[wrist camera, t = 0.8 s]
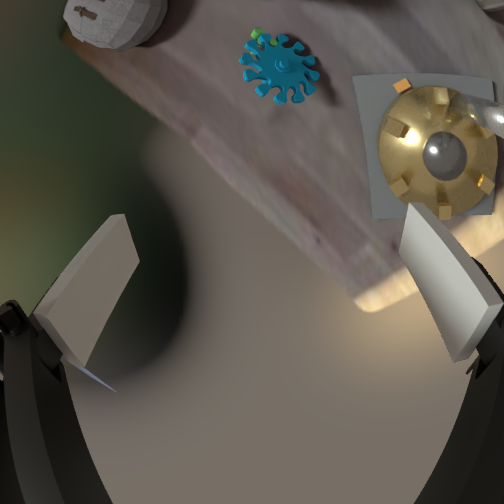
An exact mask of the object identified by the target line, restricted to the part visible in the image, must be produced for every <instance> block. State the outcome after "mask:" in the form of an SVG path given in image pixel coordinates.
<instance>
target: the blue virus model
mask: <svg viewBox="0 0 504 504" xmlns="http://www.w3.org/2000/svg"><path fill="white" fill-rule="evenodd" d="M262 33H263V30H262V29H261V28H258V27H257V28H255V29H254V31H253V32H252V34H251V37H252V38H254V39H255V40H250V41H249V42H247V43H246V45H245V48H246V49H247V50H249V51H251V52H250V53H251V54H253V55H255V56H256V58H257V60H258V61H255V60H253V59H252V57H251V55H250V54H249V53H246V52H245V53H244V54H243V55H242V56H241V58H240V60H239V63H241V64H243V65H250V66H253V67H254V68H256V69H257V70H259V72H260V73H256V72H254V71H253V70H251V69H247V70H245V72H244V73H243V76H244V80H245V81H246V82H250V81H252V80H254V79H262V83H263V84H260V85H259V86H258V87H257V88H256V89H255V90H256V92H257V94H258V95H259V96H260V97H263V96H265V95H266V94H267V93H268V92H269V90H270V89H271V88H274V87H278V88H280V90H281V93H278V94H277V95H276V96H274V98H273V101H275V102H276V103H278V104H281V105H282V104H284V103H285V102H286V101H287V90H288V89H289V88H291V89H293V91H294V95H293V96H292V98H291V100H292V102H293V103H301V102H303V101H304V100H305V98H304V96H303V94H302V93H301V91H300V83H301V84H303V86H304V93H305V94H306V95H310V94H312V93H314V92H315V91H316V87H315V86H314V85H312V84H311V83H309V82H308V80H307V79H306V77H305V75H304V73H305V74H306V75H307V76H308V78H309V79H310V81H312V82H315V81H317V80H318V79H319V75H320V74H319V72H317V71H313V70H310V69H308V68H307V67H305V66H304V65H303V64H302V62H303V63H305V64H306V65H307V66H312V65H314V64H315V59H314V57H313V56H311V55H309V56H307V57H302V56H298V55H296V54H295V53H294V52H297V53H300V52H301V51H303V50H304V49H305V48H304V46H303V45H302V44H301V43H300V42H296V43H295V44H294V45H293V47H291V48H284V47H283V46H282V44H285V43H286V42H287V41H288V39H289V38H288V37H287V36H285V35H283V34H279V36H278V37H277V38H276V40H275V39H271V35H270V34H262ZM264 84H265V85H264ZM267 84H268V85H267Z"/></svg>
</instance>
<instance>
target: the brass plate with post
mask: <svg viewBox="0 0 504 504" xmlns="http://www.w3.org/2000/svg"><path fill="white" fill-rule="evenodd" d="M495 134H496V135H498V136H500V137H502V138H503V139H504V104H500V103H497V102H494V101H491V100H487V99H484V98H480V97H476V96H472V95H468V94H464V93H461V92H459V91H457V90H455V89H451V88H448V87H443V86H436V85H423V86H418V87H414V88H412V89H409V90H407V91H405V92H404V93H402V94H401V95H399V96H398V97H397V98H396V99H395V100H394V101H393V102H392V103H391V104H390V105H389V107H388V108H387V110H386V111H385V113H384V115H383V117H382V119H381V122H380V125H379V129H378V134H377V153H378V158H379V162H380V165H381V169H382V171H383V174H384V176H385V179H386V181H387V183H388V185H389V187H390V188H391V190H392V191H393V193H394V194H395V196H396V198H397V197H398V198H399V199H400V200H401V201H402V202H403V203H404V204H405V205H407V206H408V205H409V202H421V203H424V204H425V206H426V207H427V208H428V209H429V210H430V211H431V212H432V213H433V214H434V215H435V216H436V217H437V218H438V219H439V220H451V216H453V215H457V214H460V213H462V212H464V211H466V210H468V209H470V208H471V207H473V206H474V205H475V204H477V203H478V202H479V201H480V200H481V199H482V197H483V196H484V195H485V194H486V193H487V194H488V195H490V193H491V191H492V189H493V188H494V186H495V183H494V182H493V179H494V176H495V173H496V168H497V161H498V147H497V141H496V137H495Z"/></svg>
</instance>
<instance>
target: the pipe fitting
mask: <svg viewBox="0 0 504 504" xmlns="http://www.w3.org/2000/svg"><path fill="white" fill-rule="evenodd" d="M475 1H476V2H477V3H478V5H479V6H480V8H481V9H483V10H486V11H488V12H494V11H499V10H502V9H504V0H475Z"/></svg>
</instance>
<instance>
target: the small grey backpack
mask: <svg viewBox="0 0 504 504" xmlns="http://www.w3.org/2000/svg"><path fill="white" fill-rule="evenodd" d="M166 12H167V0H68V2H67V5H66V7H65V11H64V16H63V18H64V19H65V20H66V21H67V23H68V25H69V27H70V29H71V31H72V35H73V36H75V37H76V38H78V39H79V40H80V41H82V42H89V43H91V44H93V45H95V46H97V47H99V48H112V49H114V50H118V51H122V52H123V51H125V50H127V49H129V48H132V47H134V46H136V45H138V44H140V43H143V42H145V41H147V40H148V39H149V38H150V37H151V36H152V35H153V34H154V33H155V32H156V30H157V29H158V28H159V27H160V26H161V24H162V21H163V19H164V16H165V14H166Z"/></svg>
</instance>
